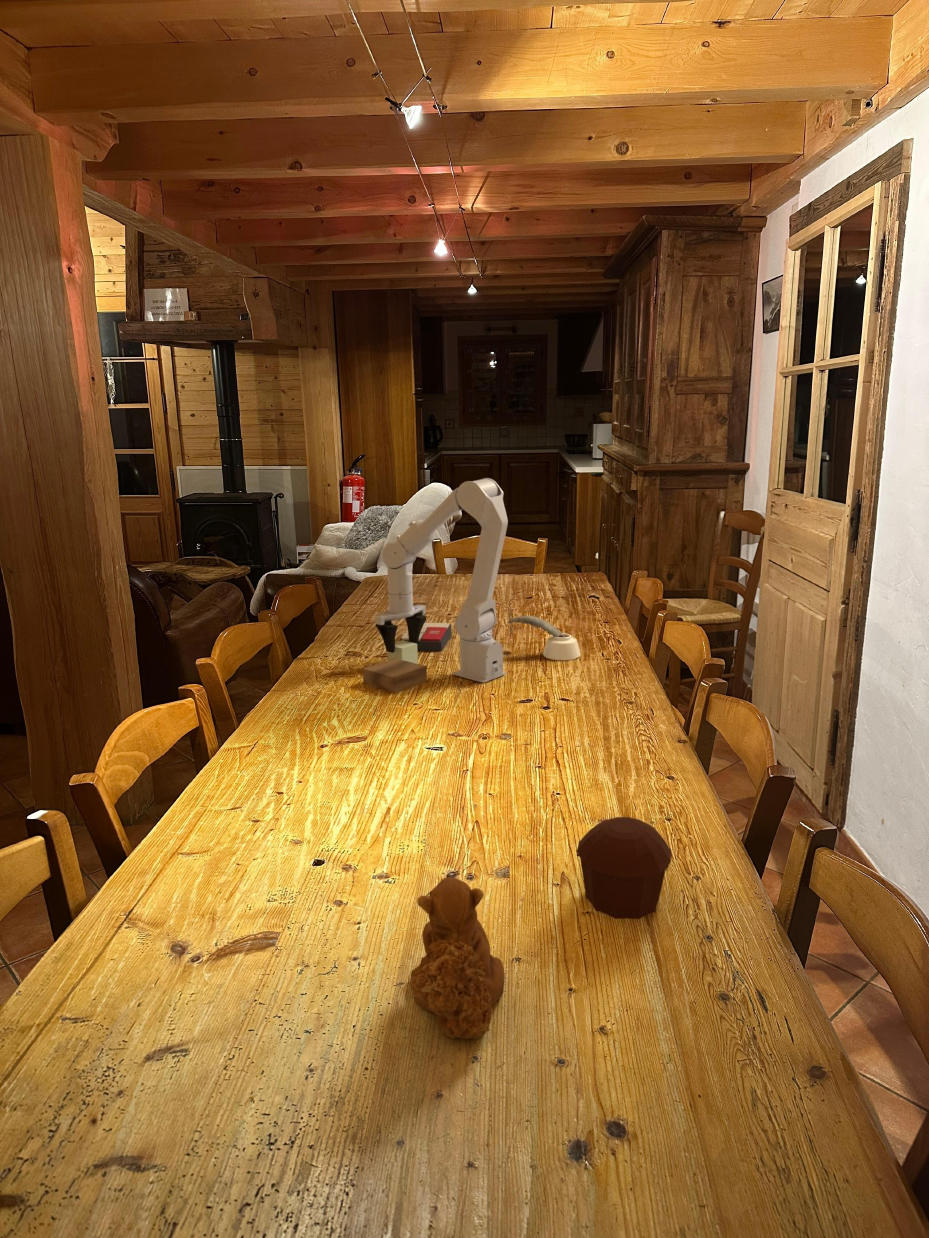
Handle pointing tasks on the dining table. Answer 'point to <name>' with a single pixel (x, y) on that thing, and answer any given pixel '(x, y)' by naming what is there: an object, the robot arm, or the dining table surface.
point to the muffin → (623, 867)
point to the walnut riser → (394, 675)
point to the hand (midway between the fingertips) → (402, 648)
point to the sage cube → (404, 652)
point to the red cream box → (432, 636)
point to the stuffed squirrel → (456, 962)
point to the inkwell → (553, 640)
